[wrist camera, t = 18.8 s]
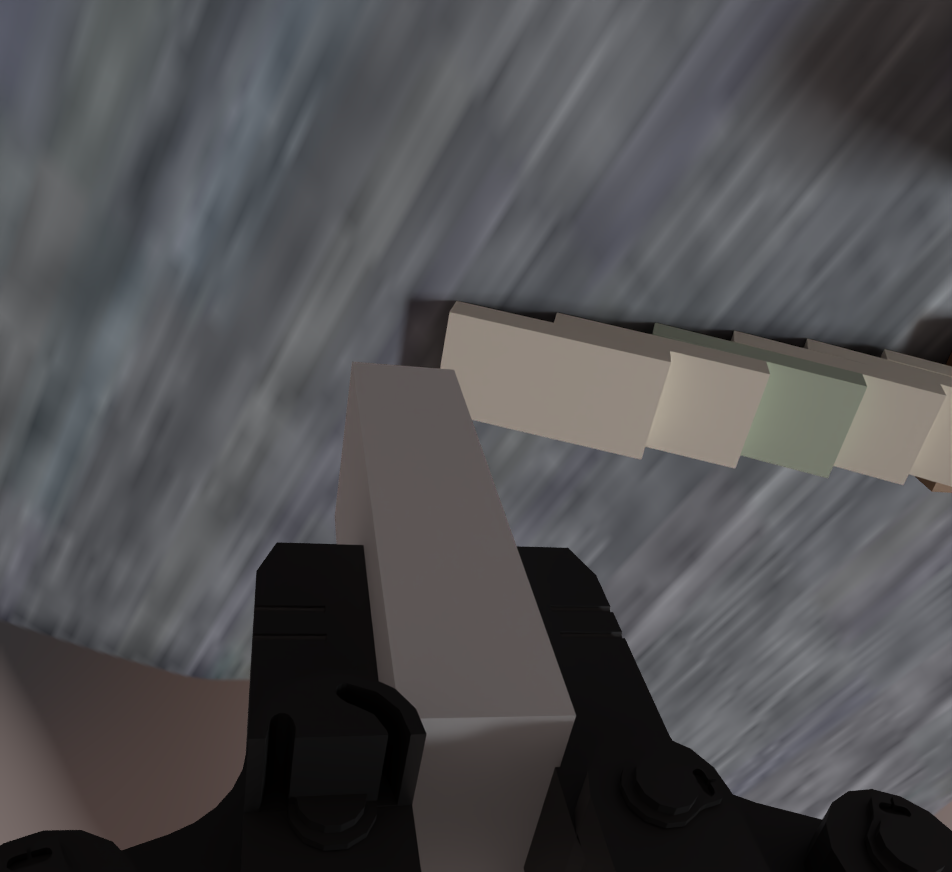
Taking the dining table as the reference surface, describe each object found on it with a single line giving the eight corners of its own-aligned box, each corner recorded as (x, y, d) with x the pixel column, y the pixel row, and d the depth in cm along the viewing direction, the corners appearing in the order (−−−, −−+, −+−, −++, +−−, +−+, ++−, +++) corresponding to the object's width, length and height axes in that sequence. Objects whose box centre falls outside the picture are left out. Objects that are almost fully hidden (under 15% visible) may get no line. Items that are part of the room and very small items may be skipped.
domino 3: (626, 425, 44) (828, 478, 42) (653, 333, 41) (867, 386, 40) (629, 412, 45) (824, 463, 44) (655, 322, 43) (862, 373, 41)
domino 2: (531, 418, 42) (735, 468, 42) (553, 323, 40) (770, 374, 39) (535, 405, 44) (732, 453, 43) (557, 312, 41) (766, 361, 41)
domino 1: (433, 410, 41) (641, 459, 41) (449, 312, 39) (670, 362, 38) (439, 396, 43) (641, 443, 42) (456, 300, 40) (670, 349, 40)
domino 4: (703, 430, 45) (903, 485, 43) (733, 340, 42) (946, 395, 41) (704, 417, 46) (898, 470, 45) (734, 330, 44) (939, 383, 42)
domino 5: (774, 435, 46) (973, 493, 44) (808, 348, 43) (1020, 405, 42) (774, 423, 47) (968, 478, 45) (807, 338, 45) (1012, 393, 43)
